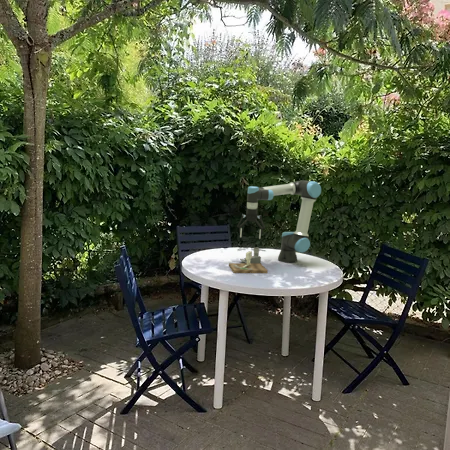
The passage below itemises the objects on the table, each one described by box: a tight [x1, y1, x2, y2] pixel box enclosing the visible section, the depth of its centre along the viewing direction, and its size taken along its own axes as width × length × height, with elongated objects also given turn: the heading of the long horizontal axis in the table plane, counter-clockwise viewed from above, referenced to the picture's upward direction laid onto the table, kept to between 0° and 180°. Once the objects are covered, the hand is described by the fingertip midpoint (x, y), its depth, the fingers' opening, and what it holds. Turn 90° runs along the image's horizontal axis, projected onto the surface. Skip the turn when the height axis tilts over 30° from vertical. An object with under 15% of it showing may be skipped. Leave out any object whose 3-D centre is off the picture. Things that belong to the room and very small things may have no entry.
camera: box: [239, 247, 262, 264], centre depth 318 cm, size 9×12×15 cm
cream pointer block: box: [243, 250, 253, 268], centre depth 299 cm, size 13×3×10 cm, turn 156°
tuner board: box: [228, 262, 268, 274], centre depth 300 cm, size 24×19×2 cm
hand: (250, 237), depth 300 cm, fingers open, 13 cm apart
